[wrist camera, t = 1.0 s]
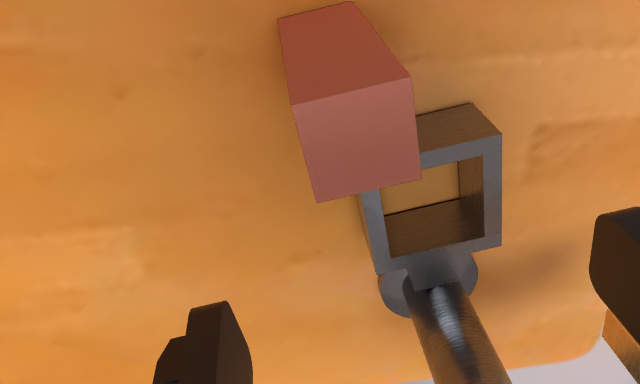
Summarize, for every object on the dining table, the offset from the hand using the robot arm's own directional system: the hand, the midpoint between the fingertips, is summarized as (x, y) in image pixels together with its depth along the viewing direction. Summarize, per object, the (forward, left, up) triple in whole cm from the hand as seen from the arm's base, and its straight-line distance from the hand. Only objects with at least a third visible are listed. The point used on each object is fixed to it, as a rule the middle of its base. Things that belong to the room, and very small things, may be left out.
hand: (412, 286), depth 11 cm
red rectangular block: (0, 0, -18) cm, 18 cm away
